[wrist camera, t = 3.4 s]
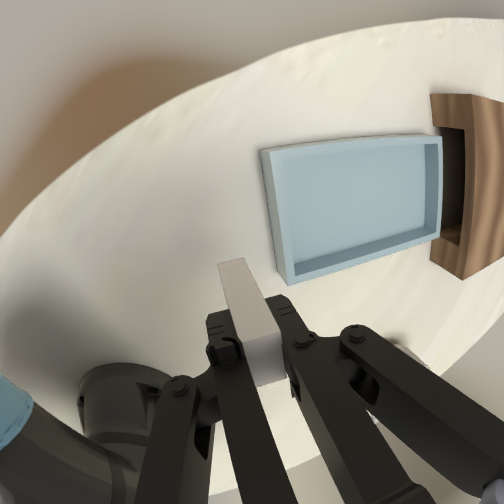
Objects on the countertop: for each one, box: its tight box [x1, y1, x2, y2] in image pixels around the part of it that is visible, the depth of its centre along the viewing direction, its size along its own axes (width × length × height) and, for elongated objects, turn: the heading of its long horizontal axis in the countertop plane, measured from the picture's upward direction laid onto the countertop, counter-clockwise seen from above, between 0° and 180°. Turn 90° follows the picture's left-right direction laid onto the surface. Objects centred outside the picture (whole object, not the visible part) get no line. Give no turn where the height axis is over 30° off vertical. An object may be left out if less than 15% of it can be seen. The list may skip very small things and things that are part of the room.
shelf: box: [430, 94, 504, 281], centre depth 28 cm, size 14×22×6 cm, turn 10°
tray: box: [259, 134, 443, 286], centre depth 27 cm, size 20×12×3 cm, turn 100°
